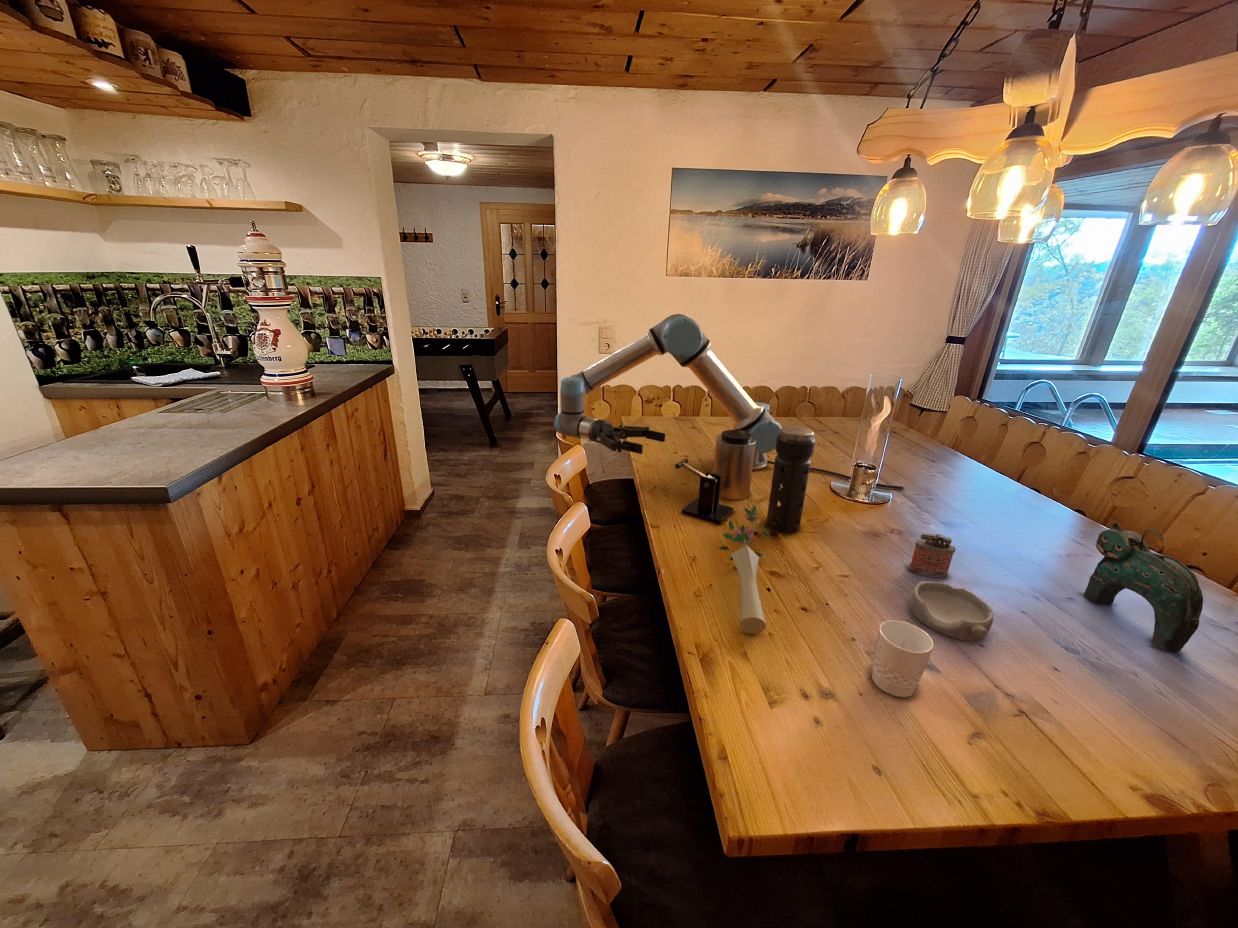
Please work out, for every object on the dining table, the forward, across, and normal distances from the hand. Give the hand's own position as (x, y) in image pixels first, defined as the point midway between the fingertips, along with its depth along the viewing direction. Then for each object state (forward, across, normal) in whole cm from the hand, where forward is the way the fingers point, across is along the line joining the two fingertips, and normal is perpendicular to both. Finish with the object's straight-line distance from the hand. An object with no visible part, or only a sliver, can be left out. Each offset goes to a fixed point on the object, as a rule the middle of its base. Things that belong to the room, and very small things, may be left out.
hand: (653, 443), depth 147 cm
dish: (+79, +16, -18) cm, 83 cm away
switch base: (+19, 0, -18) cm, 26 cm away
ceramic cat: (+111, -5, -18) cm, 112 cm away
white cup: (+72, +41, -18) cm, 85 cm away
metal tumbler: (+19, -18, -18) cm, 32 cm away
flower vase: (+41, +28, -18) cm, 53 cm away
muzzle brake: (+40, -4, -18) cm, 44 cm away
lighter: (+75, -2, -18) cm, 77 cm away
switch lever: (+14, 0, -7) cm, 16 cm away
